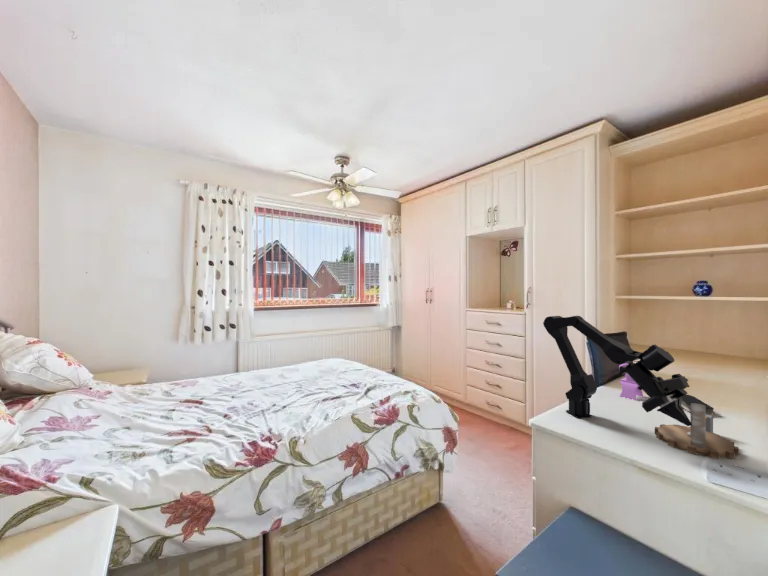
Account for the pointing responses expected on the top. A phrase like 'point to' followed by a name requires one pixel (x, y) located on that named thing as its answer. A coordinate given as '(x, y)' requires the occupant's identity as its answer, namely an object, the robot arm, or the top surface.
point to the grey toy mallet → (709, 423)
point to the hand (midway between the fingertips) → (690, 425)
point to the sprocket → (697, 436)
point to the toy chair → (629, 387)
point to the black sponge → (691, 399)
